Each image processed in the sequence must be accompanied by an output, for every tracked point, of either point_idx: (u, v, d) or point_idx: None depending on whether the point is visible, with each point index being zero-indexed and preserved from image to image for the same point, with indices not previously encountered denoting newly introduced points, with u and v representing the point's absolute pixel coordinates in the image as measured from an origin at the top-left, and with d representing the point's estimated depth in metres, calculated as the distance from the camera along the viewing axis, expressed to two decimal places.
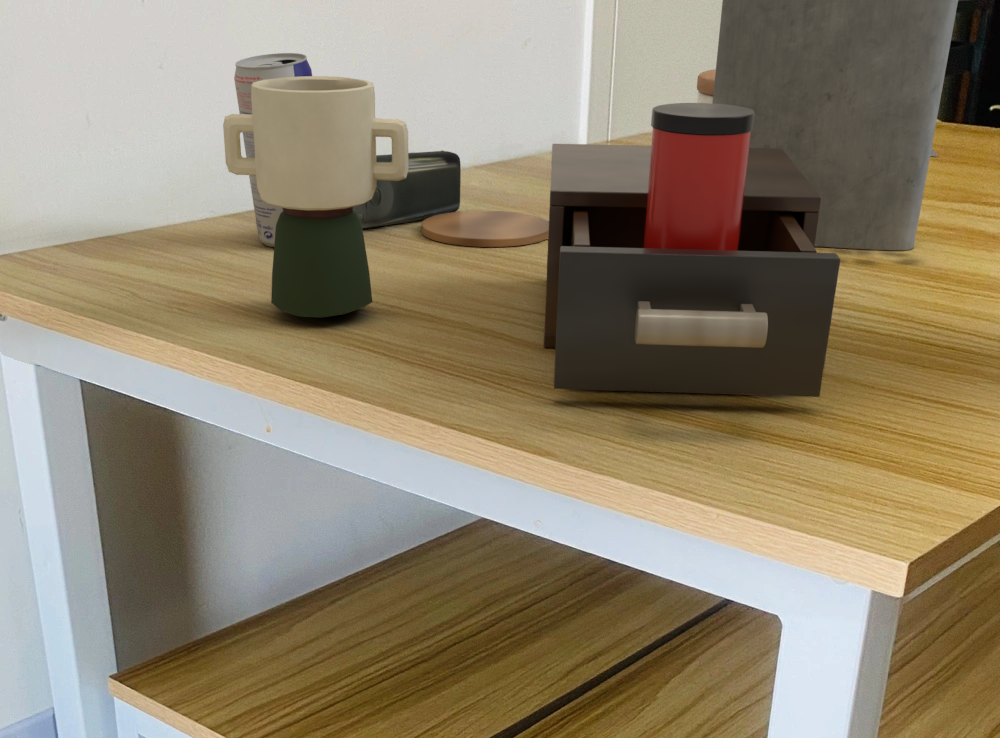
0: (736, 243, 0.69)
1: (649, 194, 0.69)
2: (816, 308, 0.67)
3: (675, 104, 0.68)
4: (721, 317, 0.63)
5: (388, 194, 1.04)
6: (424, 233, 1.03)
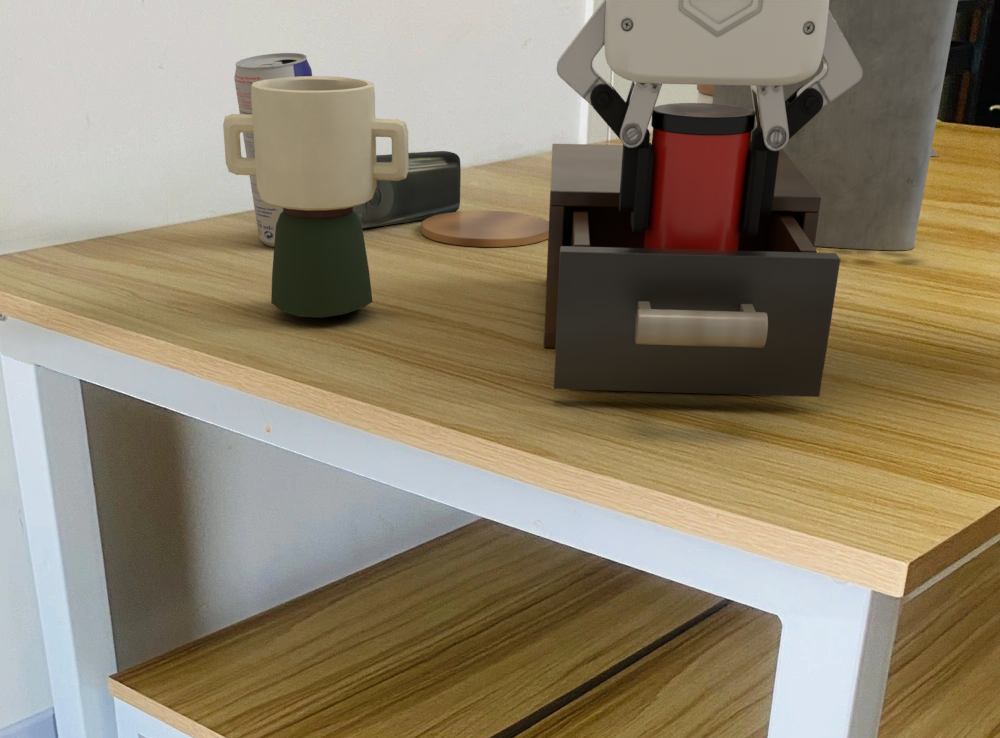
0: (736, 243, 0.69)
1: None
2: (816, 308, 0.67)
3: (675, 104, 0.68)
4: (721, 317, 0.63)
5: (388, 194, 1.04)
6: (424, 233, 1.03)
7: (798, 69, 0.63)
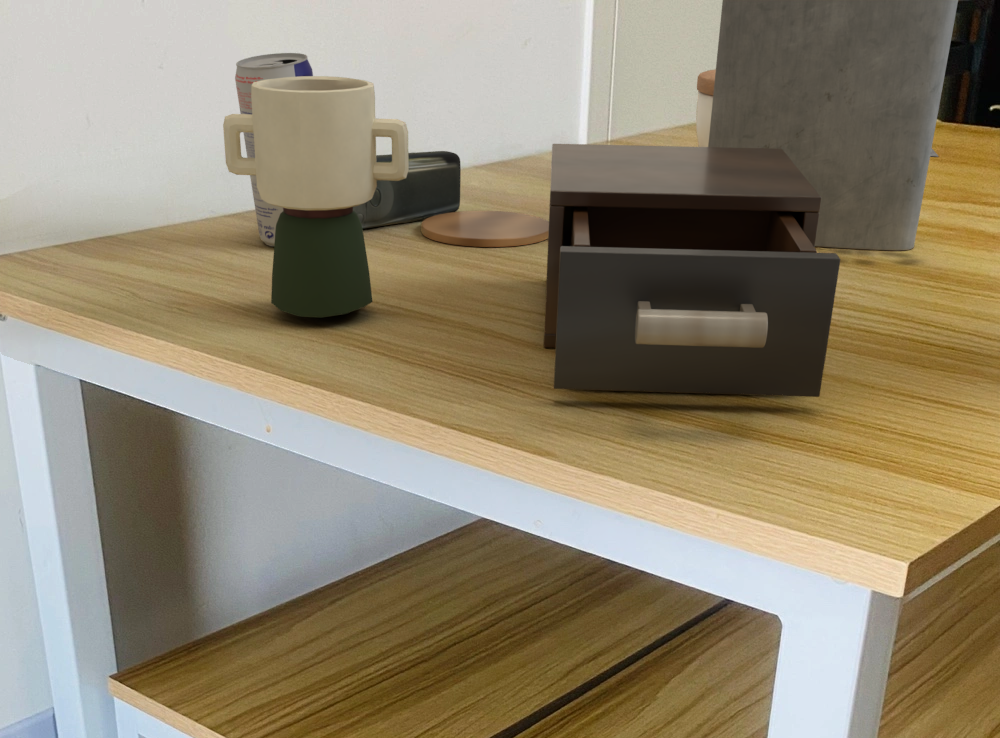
0: None
1: None
2: (816, 308, 0.67)
3: None
4: (721, 317, 0.63)
5: (388, 194, 1.04)
6: (424, 233, 1.03)
7: None
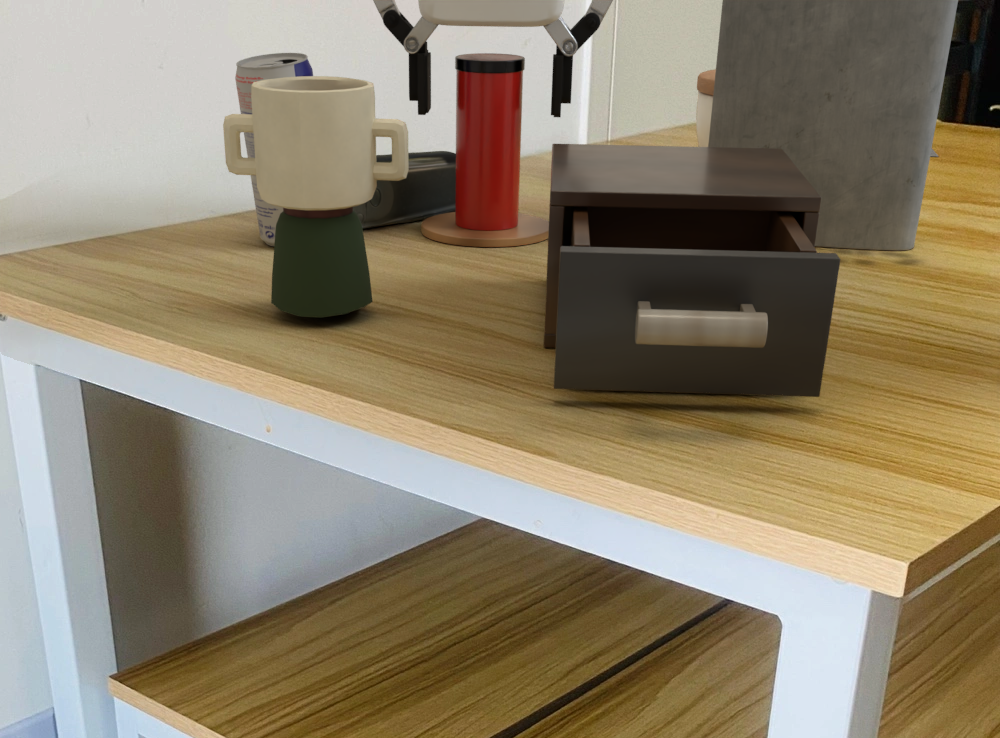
0: (517, 150, 1.00)
1: (456, 116, 1.00)
2: (816, 308, 0.67)
3: (473, 54, 1.00)
4: (721, 317, 0.63)
5: (387, 194, 1.04)
6: (424, 233, 1.03)
7: (546, 15, 0.94)
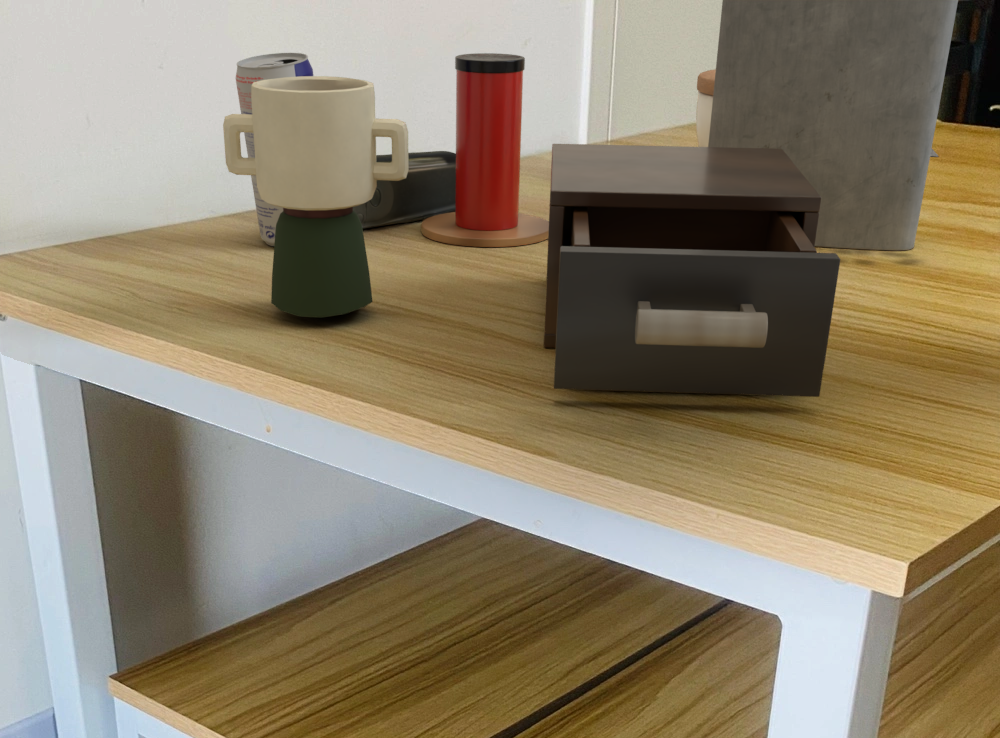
0: (517, 150, 1.00)
1: (456, 116, 1.00)
2: (816, 308, 0.67)
3: (473, 54, 1.00)
4: (721, 317, 0.63)
5: (387, 194, 1.04)
6: (424, 233, 1.03)
7: None
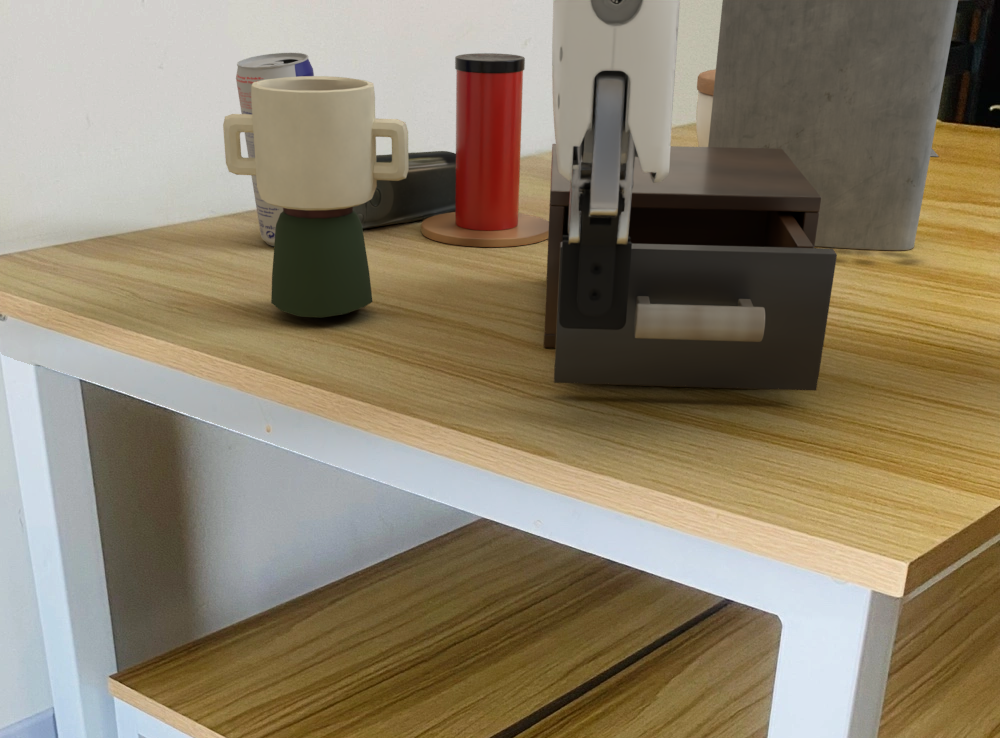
0: (517, 150, 1.00)
1: (456, 116, 1.00)
2: (813, 303, 0.68)
3: (473, 54, 1.00)
4: (719, 311, 0.64)
5: (387, 194, 1.04)
6: (424, 233, 1.03)
7: None
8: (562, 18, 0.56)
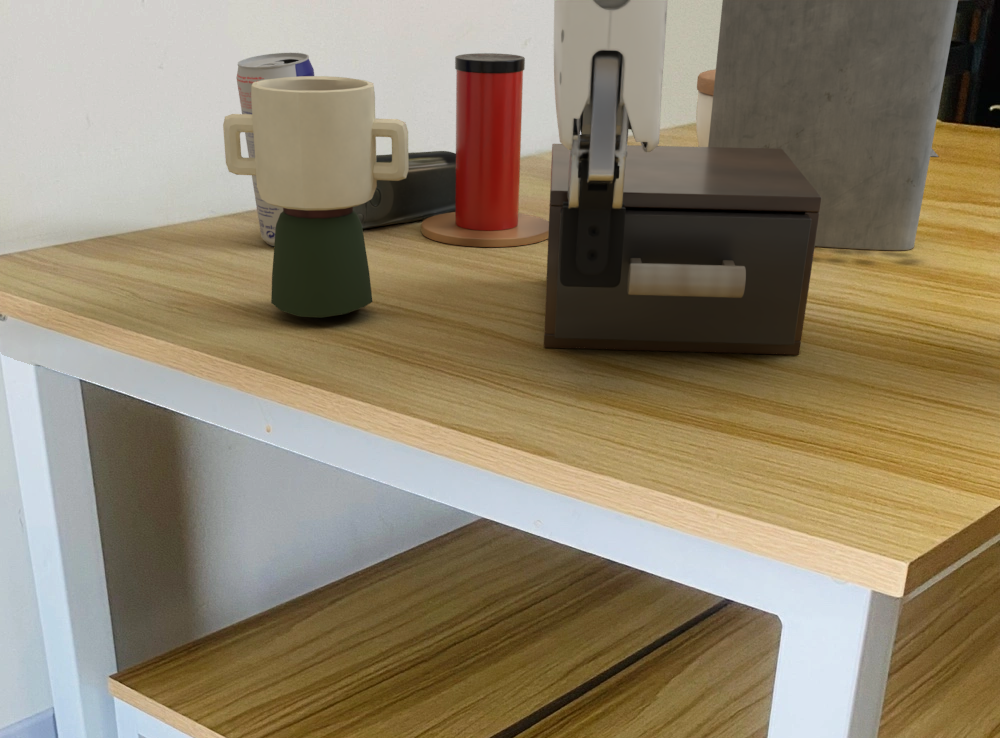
0: (517, 150, 1.00)
1: (456, 116, 1.00)
2: (790, 264, 0.74)
3: (473, 54, 1.00)
4: (704, 270, 0.71)
5: (387, 194, 1.04)
6: (424, 233, 1.03)
7: None
8: (563, 3, 0.63)
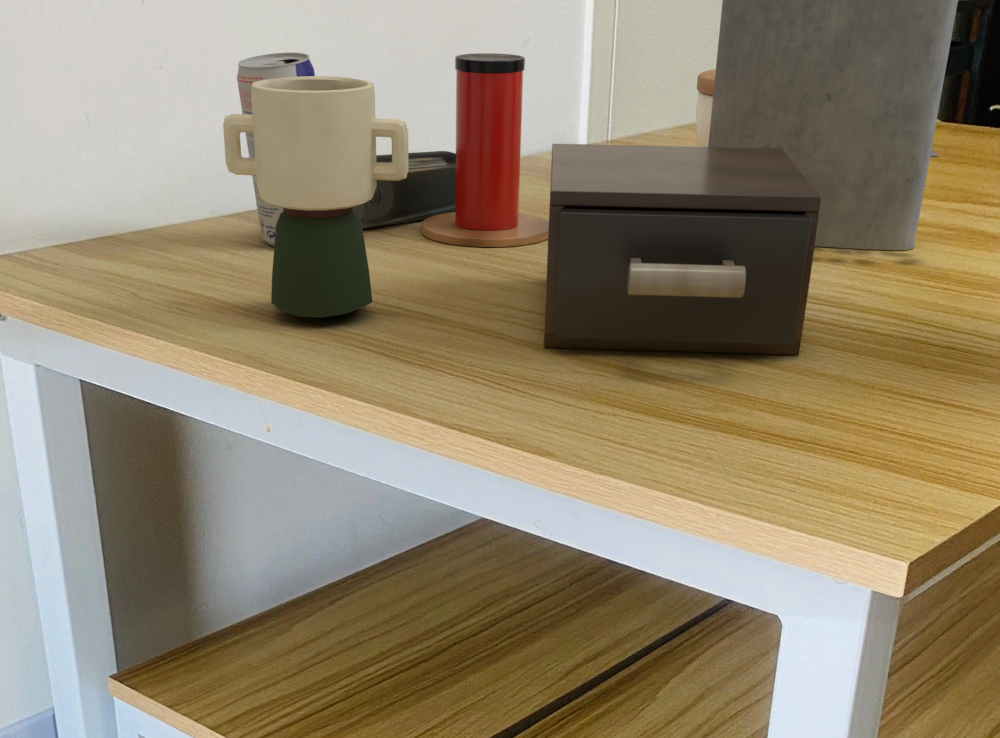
0: (517, 150, 1.00)
1: (456, 116, 1.00)
2: (790, 264, 0.74)
3: (473, 54, 1.00)
4: (704, 270, 0.71)
5: (387, 194, 1.04)
6: (424, 233, 1.03)
7: None
8: None
